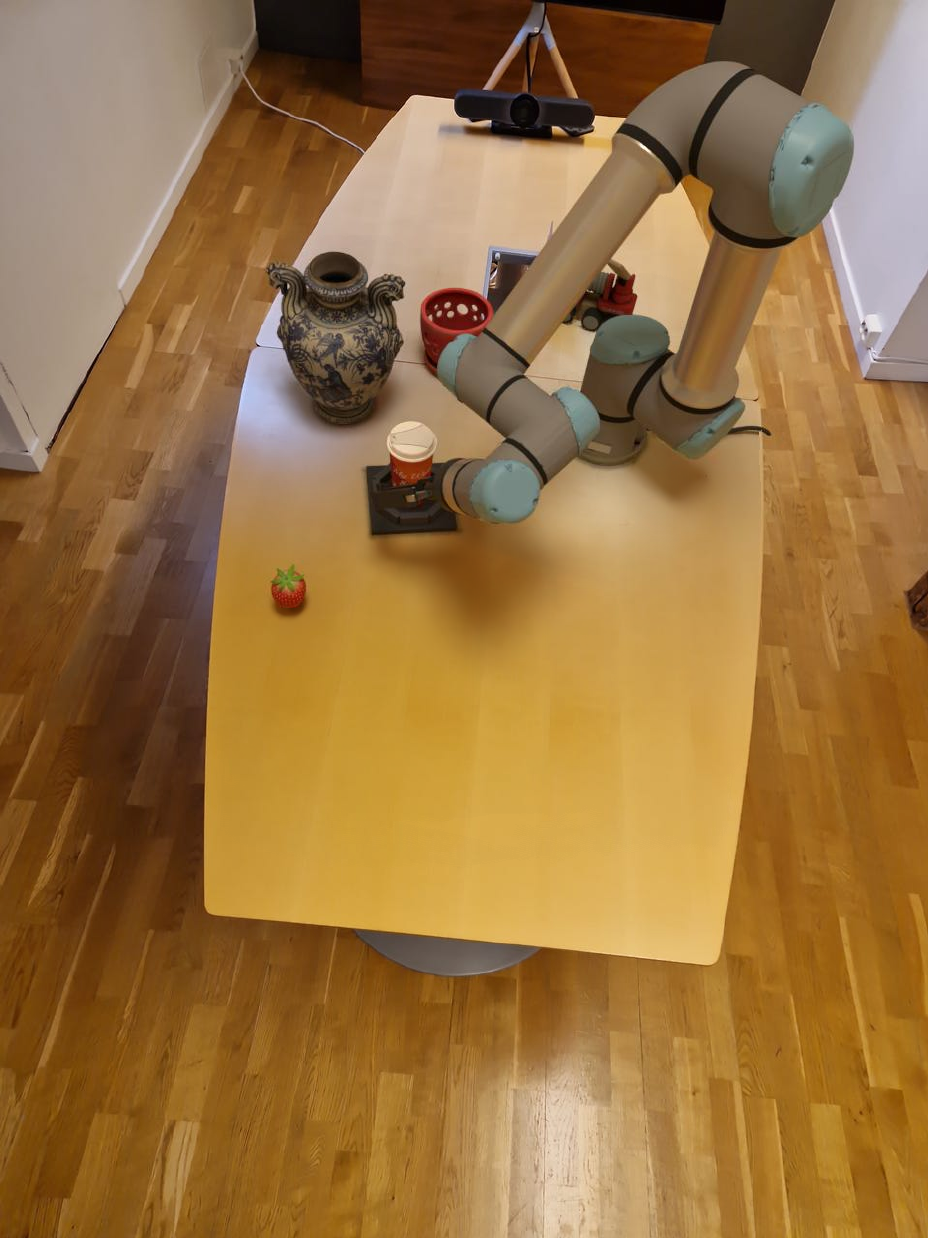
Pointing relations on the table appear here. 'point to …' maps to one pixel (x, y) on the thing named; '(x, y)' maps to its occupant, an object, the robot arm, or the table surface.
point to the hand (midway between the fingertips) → (420, 479)
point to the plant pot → (450, 320)
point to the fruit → (288, 588)
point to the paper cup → (411, 453)
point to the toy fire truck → (606, 298)
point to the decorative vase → (338, 332)
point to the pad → (406, 510)
